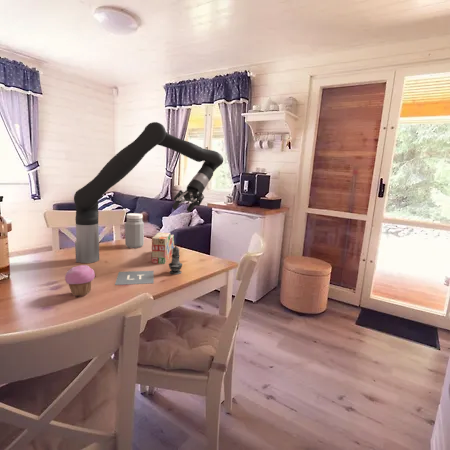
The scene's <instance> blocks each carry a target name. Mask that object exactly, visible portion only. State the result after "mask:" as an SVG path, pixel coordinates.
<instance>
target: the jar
mask: <svg viewBox="0 0 450 450" xmlns="http://www.w3.org/2000/svg"><path fill="white" fill-rule="evenodd" d="M143 218H144V217H143V213H139V212H138V213H137V212H135V213H134V212H133V213H132V212H130V213H127V214H126V221H125V222H124V224H125V225H124V228H125V229H124V230H125V231H124V236H125V237H124V238H125V239H124V241H125V244H124V245H125V246H126V248H129V249H140V248H142V247H143V246H144V244H145V236H144V235H145V233H144V232H145V223H144V221H143Z"/></svg>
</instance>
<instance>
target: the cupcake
mask: <svg viewBox="0 0 450 450" xmlns="http://www.w3.org/2000/svg"><path fill="white" fill-rule="evenodd" d="M95 277H96V274H95V270H94V269H93V268H91V267H90V266H89V265H87V264H81V265H76V266H73V267H71V268H70V269H68V270H67V272H66V273H65V276H64V278H65V279H64V280H65V283H66V284H68V287H69V290H70V292H71V294H72V295H73V297H77V296H82V297H84V296H86V295H88V294H89V293H90V291H91V290H92V289H91V288H92V281H93V280H94V279H95Z"/></svg>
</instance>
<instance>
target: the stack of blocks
mask: <svg viewBox="0 0 450 450" xmlns="http://www.w3.org/2000/svg"><path fill="white" fill-rule="evenodd" d="M174 247H175V234H171V232H159V231H158V232H157V233H156V234H155V235H154V236H152V237H151V264H161V265H162V264H163V265H165V264H166V263H167V262H168V260H169V259H170V257H172V249H173V248H174Z"/></svg>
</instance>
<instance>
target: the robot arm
mask: <svg viewBox="0 0 450 450" xmlns="http://www.w3.org/2000/svg"><path fill="white" fill-rule="evenodd" d="M156 146H161V147H164V148H167V149H169V150H172V151H174V152H176V153H178V154H180V155H182V156H184V157H186V158H189V159H191V160H193V161H195V162H198V163H201V162H203V164H202V165H201V167H200V168H199V170H198V171H197V172H196V174H195V175H194V176H192V179H191V180H190V181H189V183H188V184H187V186H186V190H185V191H182V190H181V189H180V190H179V191H178V192H177V194H176V195H175V196H174V197H173V200H174V203H173V204H172V208H173V210H175V211H177V209H178V207H179V206H180V205H181V204H182V203H186V202H190V204H188V206H187V208H186V211H187V212H188V213H191V212H192V211H193V209H194V207H199V206H200V205H201V204H202V202H203V200H204V199H205V196H204V194H203V192H204V190H205V189H206V188H207V186H208V184H209V182H210V180H212V178H213V176H214V173H215V171H216V170H217V169H218V168H219V167H220V166H222V165H223V163H224V158H223V155H222V154H221V153H220V152H218V151H216V150H211V149H208V148H203V147H201V146H199V145H197V144H194V143H193V142H190V141H187V140H185V139H182V138H179V137H176V136H174V135H172V134H170V133H168V132H167V131H166V128H165V126H164V125H163V124H162V123H160V122H157V121H152V122H149V123H148V124H147V125H145V127H144V128H143V130H142V132H141V133H140V134H139V135H138V136H137V138H136V139H134V140H133V141H132V142H131V143H129V144H127V146H125V147H124V148H122V149H121V150H120V151H119V152H117V153H116V154H114V156H113V157H111V159H109V161H107V163H106V164H105V165H104V166H103V167H102V169H101V170H100V171H99V172H98V173H97V174H96V176H95V177H94V178H93V179H92V180H89V182H88V183H86V184H85V185H83V186H82V187H80V188H79V189H78V190H76V192H75V193H74V195H73V202H74V204H75V219H74V220H75V237H76V240H75V241H74V245H75V247H74V248H75V263H80V264H90V263H91V264H92V263H96V262H99V260H100V238H99V237H100V236H99V235H100V233H99V231H100V230H99V228H100V227H99V201H100V200H101V199H102V197H103V196H104V195H105V194H106V193H107V192H108V191H109V190H110V189H111V188H113V187H114V186H115V185H116V184H118V183H119V182H120V181H122V180H123V179H124V178H125V177H126V176H128V174H129V173H130V172H132V171H133V169H135V168H136V166H137V165H138V164H139V163H140V162H141V161H142V159H143V158H144V157H145V156H146V155H147V153H148V152H150V151H151V150H152V149H154V148H155V147H156Z"/></svg>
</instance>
